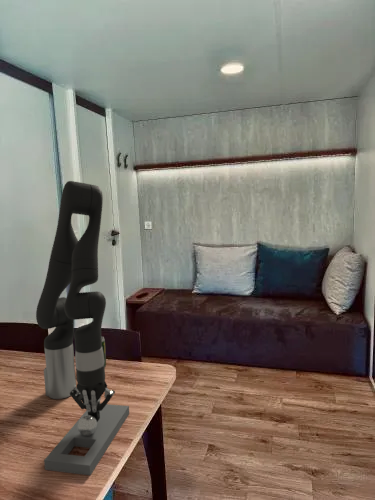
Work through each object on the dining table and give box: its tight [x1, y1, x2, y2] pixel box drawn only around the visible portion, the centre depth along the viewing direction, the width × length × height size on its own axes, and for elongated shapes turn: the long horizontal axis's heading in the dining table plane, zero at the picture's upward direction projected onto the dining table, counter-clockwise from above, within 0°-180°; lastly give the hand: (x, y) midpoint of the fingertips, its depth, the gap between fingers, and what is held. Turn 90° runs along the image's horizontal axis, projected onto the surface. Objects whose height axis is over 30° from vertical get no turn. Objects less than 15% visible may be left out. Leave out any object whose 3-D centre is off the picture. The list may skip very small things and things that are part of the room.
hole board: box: [43, 403, 130, 476], centre depth 98 cm, size 12×26×2 cm, turn 169°
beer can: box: [101, 335, 107, 368], centre depth 143 cm, size 5×5×12 cm
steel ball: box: [78, 415, 97, 436], centre depth 96 cm, size 5×5×5 cm
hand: (94, 422), depth 100 cm, fingers closed
